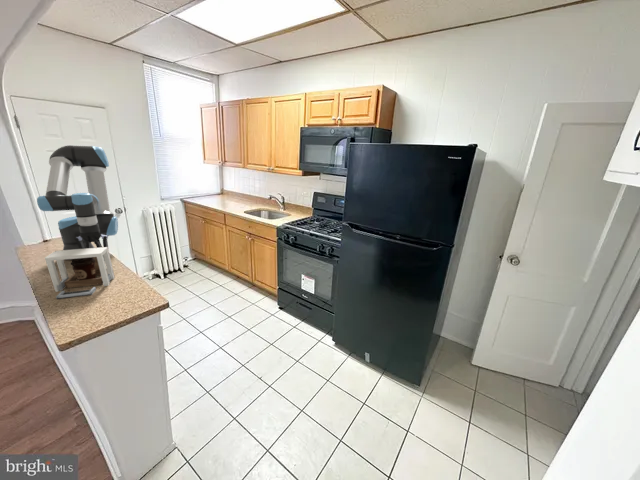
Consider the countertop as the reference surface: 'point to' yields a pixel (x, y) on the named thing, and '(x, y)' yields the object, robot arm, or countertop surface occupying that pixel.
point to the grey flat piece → (75, 293)
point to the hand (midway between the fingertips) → (98, 266)
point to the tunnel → (75, 254)
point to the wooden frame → (88, 282)
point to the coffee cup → (84, 268)
